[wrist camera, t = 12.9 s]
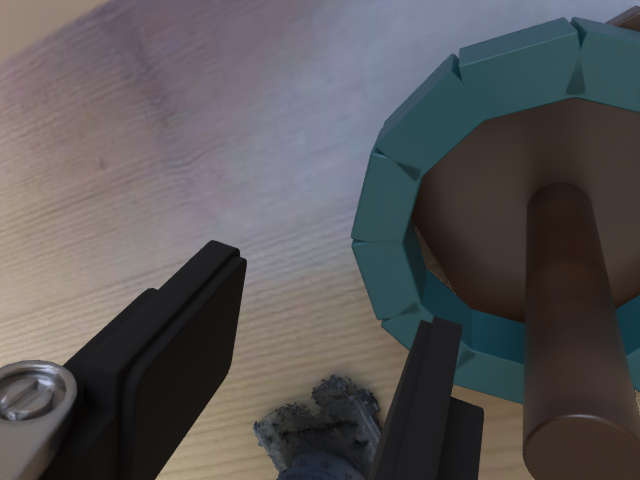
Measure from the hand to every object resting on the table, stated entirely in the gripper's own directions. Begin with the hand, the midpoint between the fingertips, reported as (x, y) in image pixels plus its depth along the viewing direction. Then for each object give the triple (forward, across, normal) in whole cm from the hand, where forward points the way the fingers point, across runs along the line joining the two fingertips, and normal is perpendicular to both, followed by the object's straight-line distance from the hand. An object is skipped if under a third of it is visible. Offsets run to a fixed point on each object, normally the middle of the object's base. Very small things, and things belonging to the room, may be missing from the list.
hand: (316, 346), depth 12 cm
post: (+12, -5, 0) cm, 13 cm away
